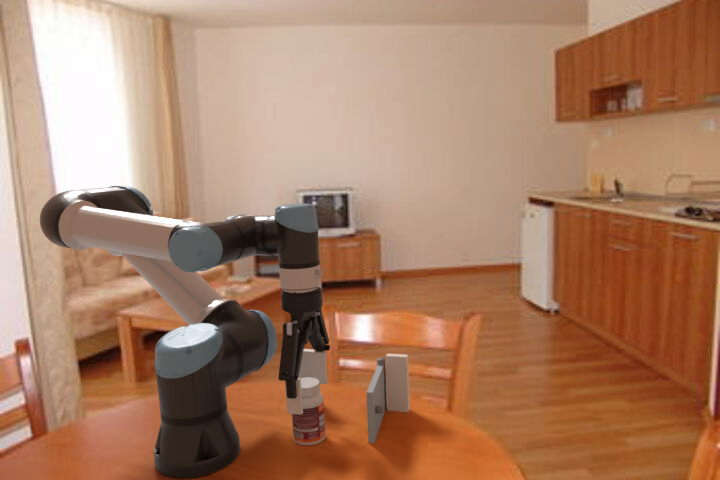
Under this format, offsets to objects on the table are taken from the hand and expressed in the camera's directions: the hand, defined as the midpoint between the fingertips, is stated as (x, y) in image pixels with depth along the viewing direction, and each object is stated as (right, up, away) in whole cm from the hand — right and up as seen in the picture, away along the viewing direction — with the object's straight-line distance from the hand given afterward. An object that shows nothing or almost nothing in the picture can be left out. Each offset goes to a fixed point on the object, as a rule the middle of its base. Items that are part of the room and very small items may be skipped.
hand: (308, 397), depth 107 cm
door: (+14, -7, +6) cm, 17 cm away
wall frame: (+8, -6, +14) cm, 18 cm away
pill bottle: (0, -8, +1) cm, 9 cm away
